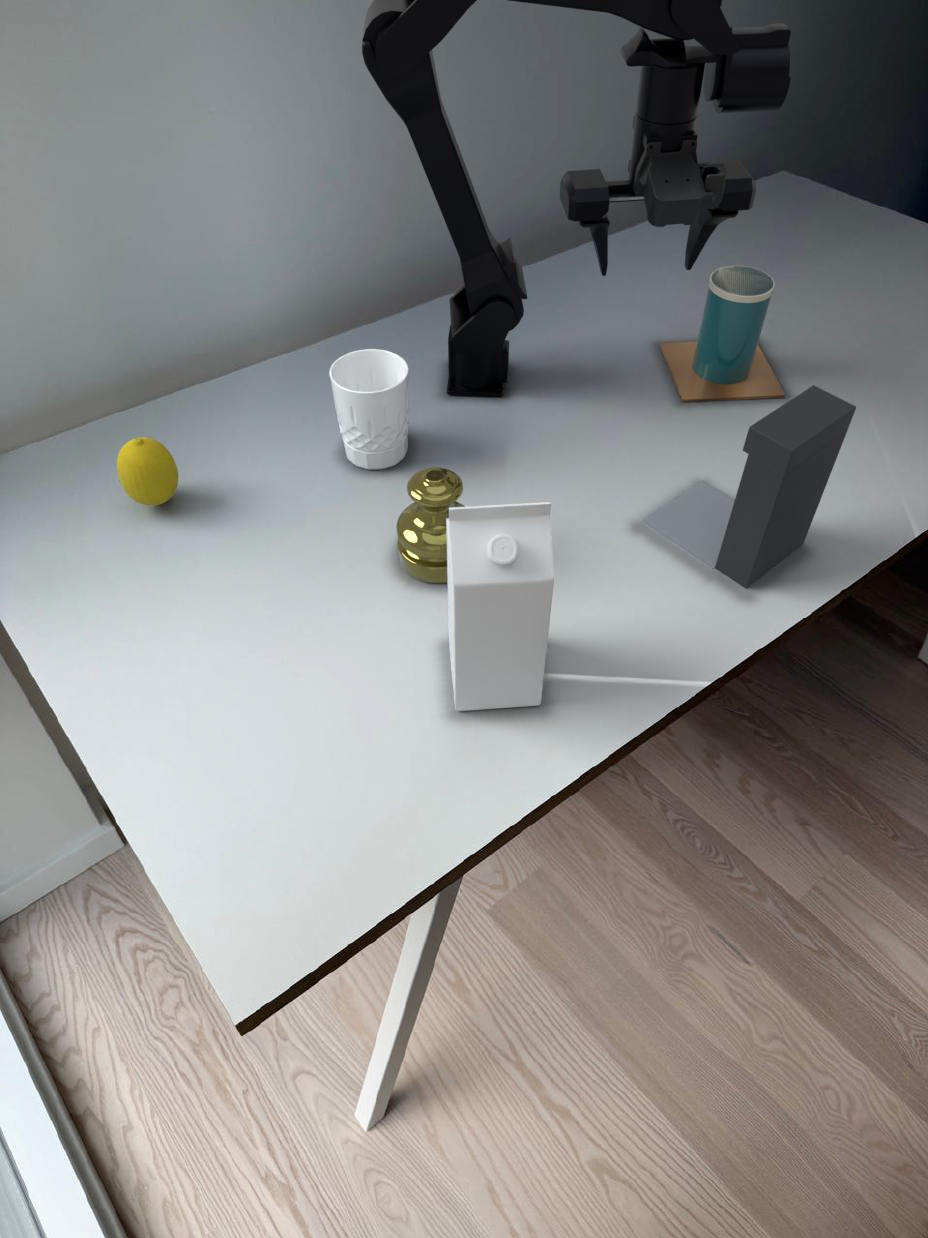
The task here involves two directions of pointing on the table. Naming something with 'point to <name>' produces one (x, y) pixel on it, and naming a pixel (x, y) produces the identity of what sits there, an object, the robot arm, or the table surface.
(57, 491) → the table surface
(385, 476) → the table surface
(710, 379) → the container
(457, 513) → the milk carton
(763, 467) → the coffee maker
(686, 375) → the cork mat
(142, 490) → the lemon
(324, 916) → the table surface
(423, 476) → the brass calibration weight
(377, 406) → the white cup
